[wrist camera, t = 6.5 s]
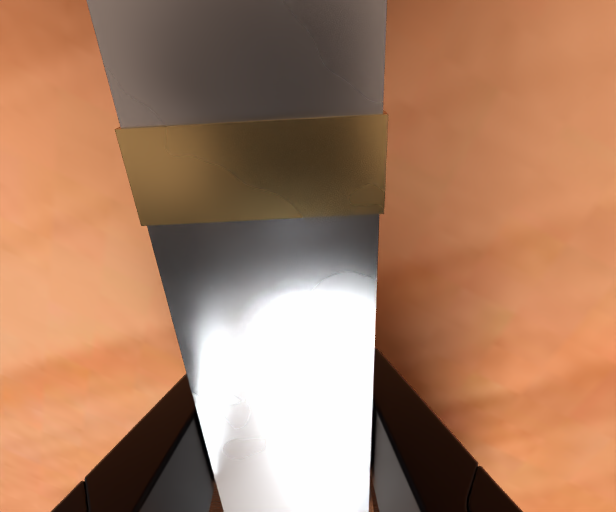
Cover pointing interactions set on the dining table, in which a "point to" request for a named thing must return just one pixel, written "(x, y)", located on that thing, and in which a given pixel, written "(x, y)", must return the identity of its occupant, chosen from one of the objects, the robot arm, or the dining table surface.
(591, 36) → the dining table surface
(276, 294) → the grey metal bar
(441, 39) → the dining table surface
